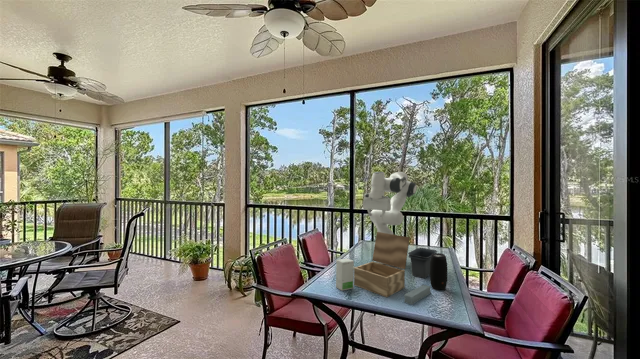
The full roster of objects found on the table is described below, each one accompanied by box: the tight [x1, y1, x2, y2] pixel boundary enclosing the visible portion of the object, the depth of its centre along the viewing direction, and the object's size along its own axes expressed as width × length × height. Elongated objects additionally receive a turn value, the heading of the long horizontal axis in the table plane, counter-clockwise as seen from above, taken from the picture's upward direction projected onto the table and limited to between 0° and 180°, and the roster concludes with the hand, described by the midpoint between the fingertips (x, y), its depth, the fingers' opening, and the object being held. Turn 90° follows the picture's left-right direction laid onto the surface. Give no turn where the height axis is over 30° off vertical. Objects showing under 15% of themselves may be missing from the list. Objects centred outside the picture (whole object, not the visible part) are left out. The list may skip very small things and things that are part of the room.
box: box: [353, 261, 406, 298], centre depth 154 cm, size 18×22×10 cm
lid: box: [371, 231, 410, 270], centre depth 162 cm, size 18×22×1 cm
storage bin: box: [407, 247, 439, 279], centre depth 176 cm, size 21×16×14 cm
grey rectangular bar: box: [403, 284, 431, 306], centre depth 140 cm, size 20×4×4 cm, turn 133°
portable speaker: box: [429, 252, 448, 291], centre depth 152 cm, size 8×9×19 cm
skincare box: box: [335, 258, 355, 291], centre depth 152 cm, size 8×7×16 cm
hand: (375, 216), depth 178 cm, fingers open, 8 cm apart
